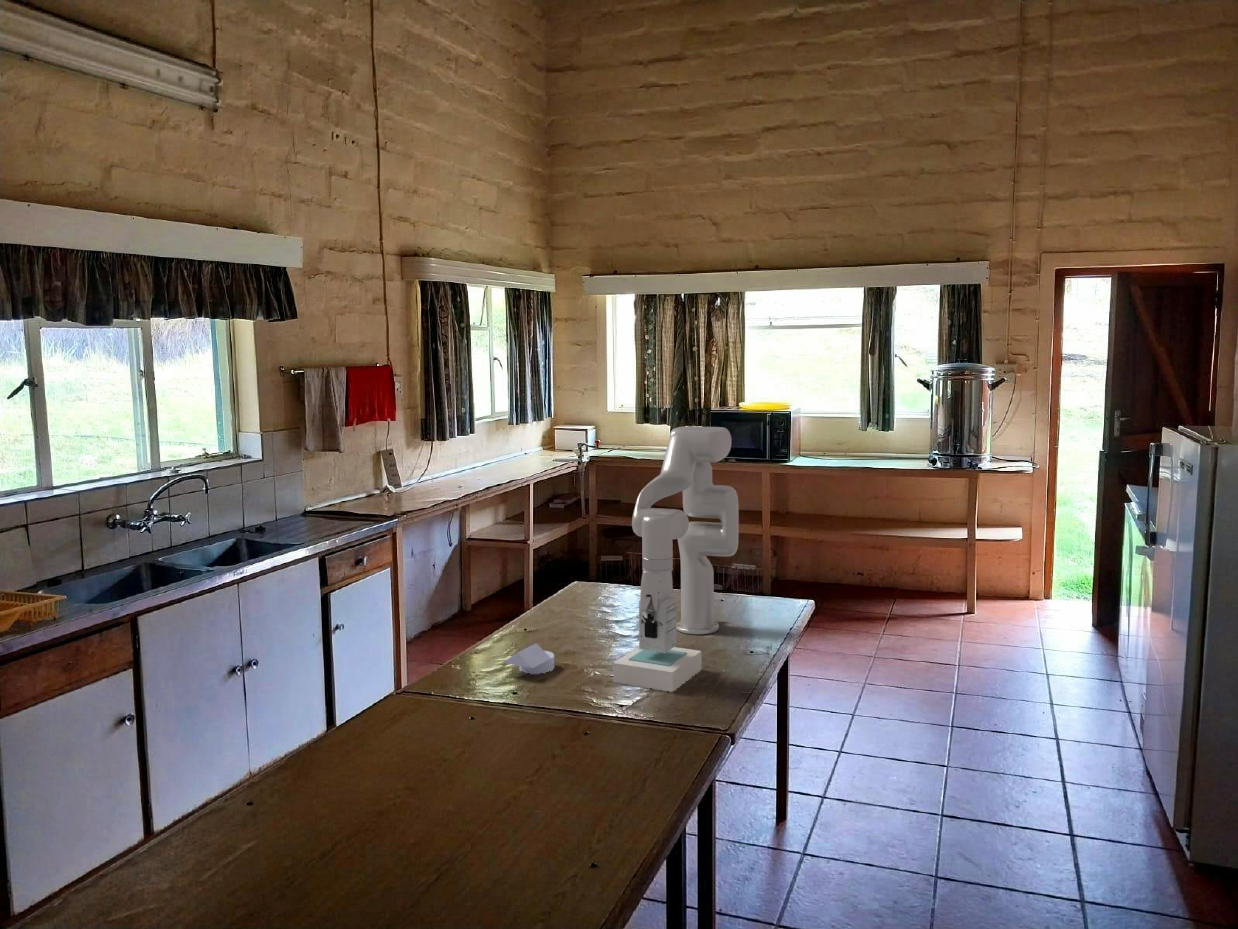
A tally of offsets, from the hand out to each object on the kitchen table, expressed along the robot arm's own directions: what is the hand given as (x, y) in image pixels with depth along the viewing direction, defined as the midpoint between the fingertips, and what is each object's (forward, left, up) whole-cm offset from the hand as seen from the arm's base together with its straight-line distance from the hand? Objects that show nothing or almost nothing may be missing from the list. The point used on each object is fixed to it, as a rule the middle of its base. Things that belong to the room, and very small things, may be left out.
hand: (657, 632), depth 245 cm
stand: (0, 0, -11) cm, 11 cm away
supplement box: (0, 0, -4) cm, 4 cm away
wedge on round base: (+10, -31, -11) cm, 35 cm away
